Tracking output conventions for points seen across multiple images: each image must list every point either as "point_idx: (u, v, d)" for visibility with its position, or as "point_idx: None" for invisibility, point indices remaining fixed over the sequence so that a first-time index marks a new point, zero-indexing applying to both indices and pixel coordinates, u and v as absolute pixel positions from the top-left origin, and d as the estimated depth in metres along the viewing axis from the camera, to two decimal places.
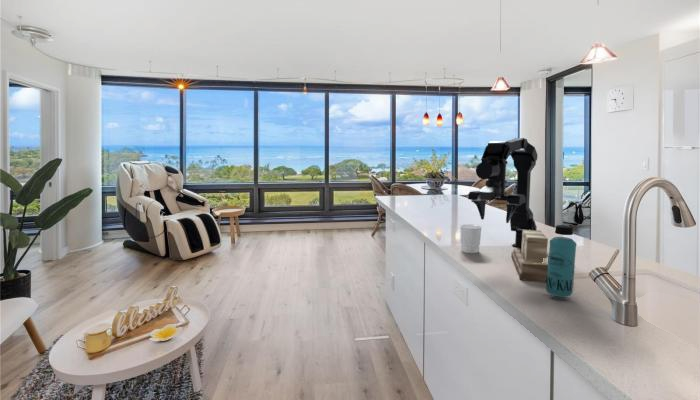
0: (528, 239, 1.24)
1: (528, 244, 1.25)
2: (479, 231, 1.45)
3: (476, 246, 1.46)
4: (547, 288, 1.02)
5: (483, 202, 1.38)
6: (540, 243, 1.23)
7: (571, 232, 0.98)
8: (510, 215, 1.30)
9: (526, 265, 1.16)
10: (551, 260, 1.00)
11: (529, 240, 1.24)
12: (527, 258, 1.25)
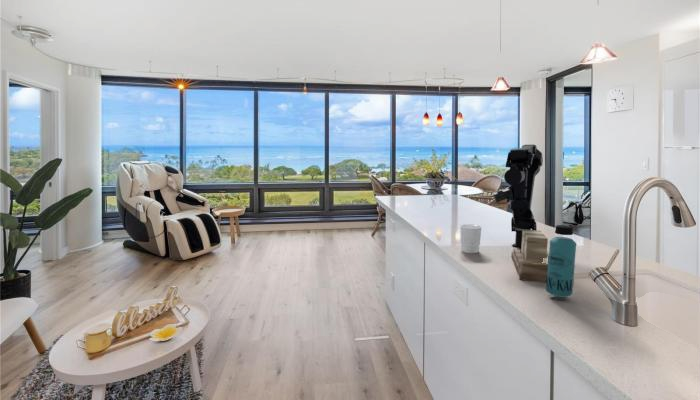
0: (528, 239, 1.24)
1: (528, 244, 1.25)
2: (479, 231, 1.45)
3: (476, 246, 1.46)
4: (547, 288, 1.02)
5: None
6: (540, 243, 1.23)
7: (571, 232, 0.98)
8: (516, 217, 1.40)
9: (526, 265, 1.16)
10: (551, 260, 1.00)
11: (529, 240, 1.24)
12: (527, 258, 1.25)
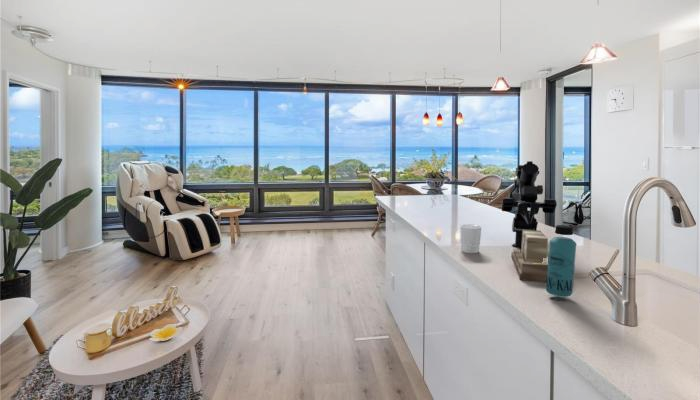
0: (528, 239, 1.24)
1: (528, 244, 1.25)
2: (479, 231, 1.45)
3: (476, 246, 1.46)
4: (547, 288, 1.02)
5: None
6: (540, 243, 1.23)
7: (571, 232, 0.98)
8: (532, 217, 1.42)
9: (526, 265, 1.16)
10: (551, 260, 1.00)
11: (529, 240, 1.24)
12: (527, 258, 1.25)
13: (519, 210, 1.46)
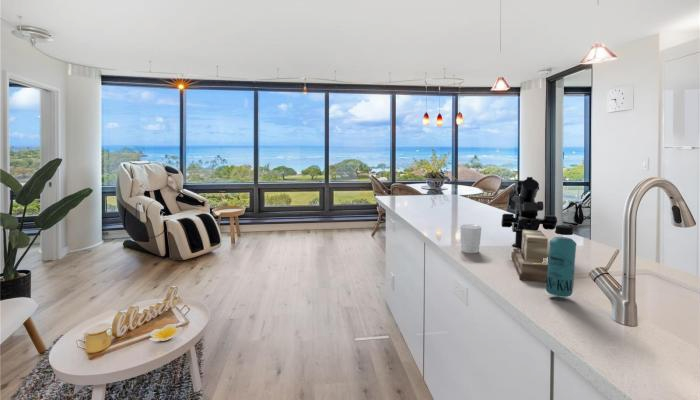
0: (528, 239, 1.24)
1: (528, 244, 1.25)
2: (479, 231, 1.45)
3: (476, 246, 1.46)
4: (547, 288, 1.02)
5: None
6: (540, 243, 1.23)
7: (571, 232, 0.98)
8: None
9: (526, 265, 1.16)
10: (551, 260, 1.00)
11: (529, 240, 1.24)
12: (527, 258, 1.25)
13: (519, 226, 1.44)
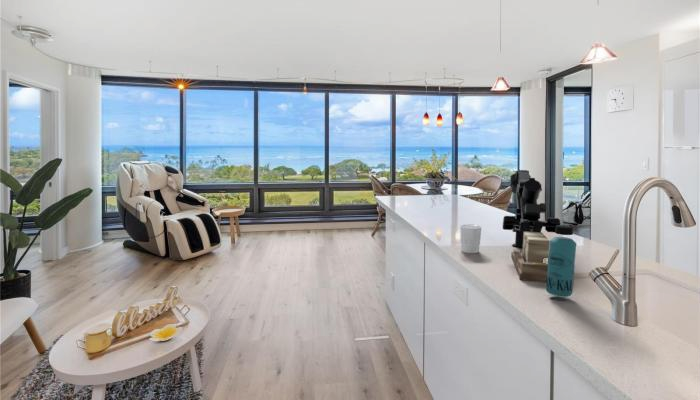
0: (529, 241, 1.22)
1: (529, 246, 1.22)
2: (479, 231, 1.45)
3: (476, 246, 1.46)
4: (547, 288, 1.02)
5: None
6: (542, 245, 1.21)
7: (571, 232, 0.98)
8: None
9: (526, 265, 1.16)
10: (551, 260, 1.00)
11: (530, 242, 1.22)
12: (528, 261, 1.22)
13: (521, 229, 1.39)
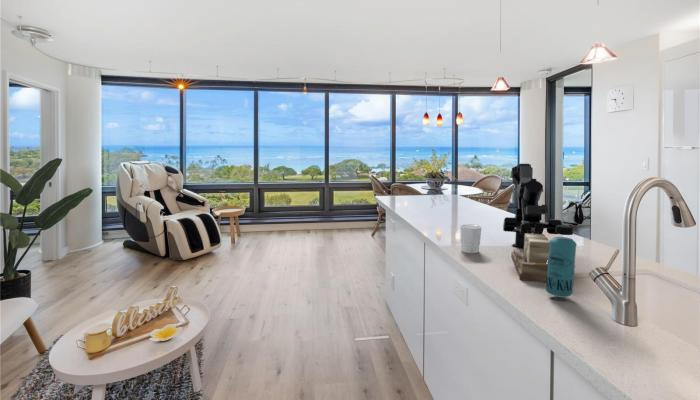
0: (531, 243, 1.19)
1: (531, 248, 1.19)
2: (479, 231, 1.45)
3: (476, 246, 1.46)
4: (547, 288, 1.02)
5: None
6: (543, 247, 1.18)
7: (571, 232, 0.98)
8: None
9: (526, 265, 1.16)
10: (551, 260, 1.00)
11: (532, 244, 1.19)
12: None
13: (522, 230, 1.36)
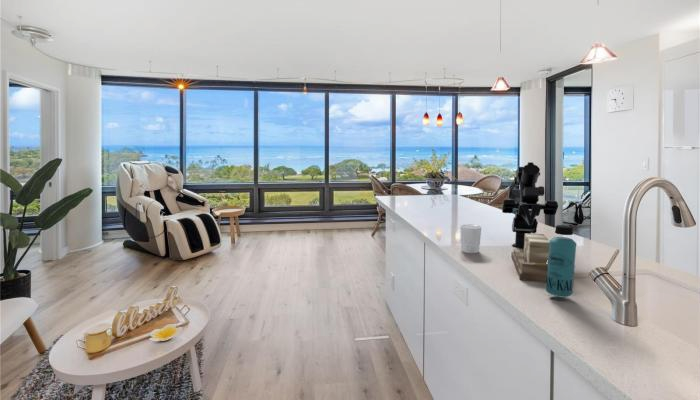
0: (531, 243, 1.19)
1: (531, 248, 1.19)
2: (479, 231, 1.45)
3: (476, 246, 1.46)
4: (547, 288, 1.02)
5: None
6: (543, 247, 1.18)
7: (571, 232, 0.98)
8: (533, 219, 1.39)
9: (526, 265, 1.16)
10: (551, 260, 1.00)
11: (532, 244, 1.19)
12: None
13: (520, 212, 1.44)
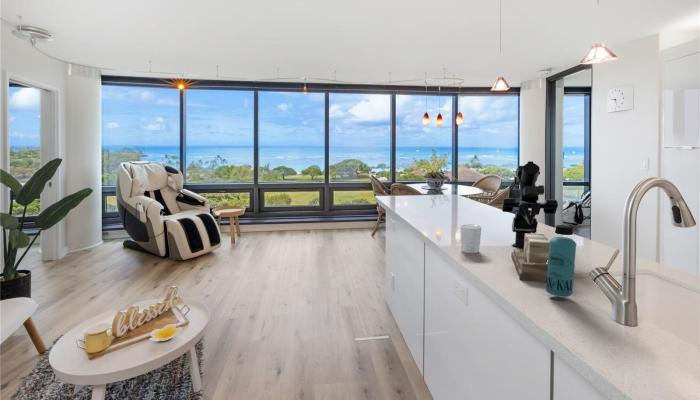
0: (531, 243, 1.19)
1: (531, 248, 1.19)
2: (479, 231, 1.45)
3: (476, 246, 1.46)
4: (547, 288, 1.02)
5: None
6: (543, 247, 1.18)
7: (571, 232, 0.98)
8: (533, 218, 1.40)
9: (526, 265, 1.16)
10: (551, 260, 1.00)
11: (532, 244, 1.19)
12: None
13: (520, 211, 1.44)
